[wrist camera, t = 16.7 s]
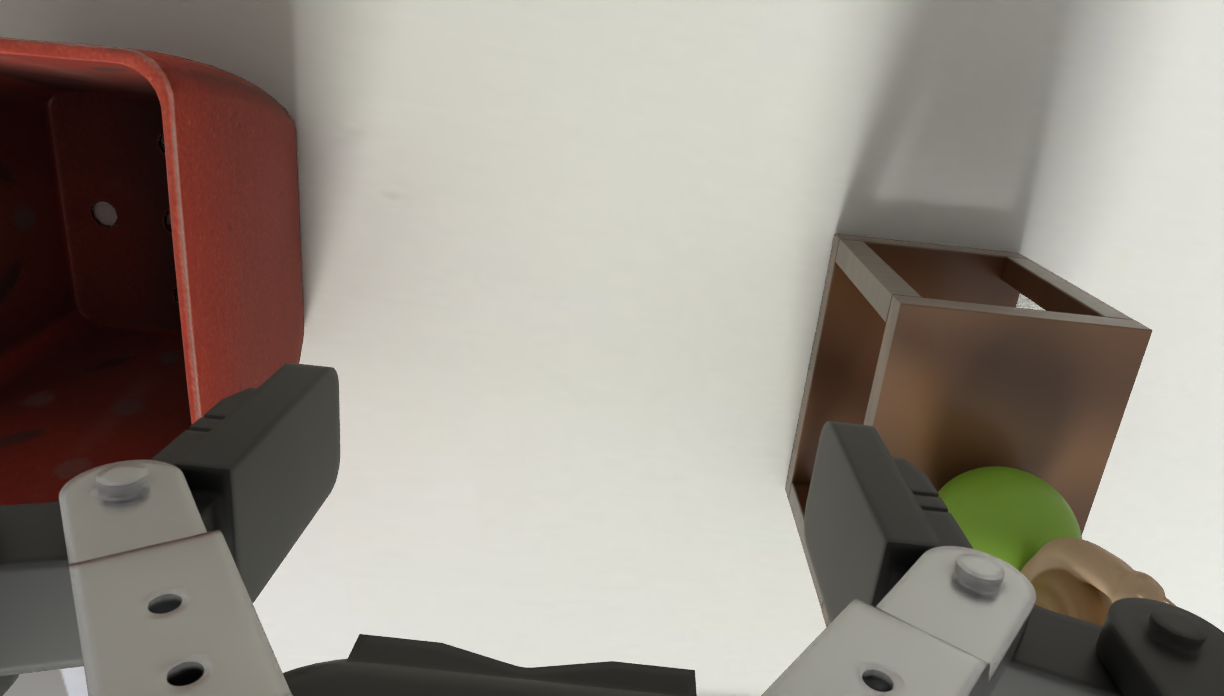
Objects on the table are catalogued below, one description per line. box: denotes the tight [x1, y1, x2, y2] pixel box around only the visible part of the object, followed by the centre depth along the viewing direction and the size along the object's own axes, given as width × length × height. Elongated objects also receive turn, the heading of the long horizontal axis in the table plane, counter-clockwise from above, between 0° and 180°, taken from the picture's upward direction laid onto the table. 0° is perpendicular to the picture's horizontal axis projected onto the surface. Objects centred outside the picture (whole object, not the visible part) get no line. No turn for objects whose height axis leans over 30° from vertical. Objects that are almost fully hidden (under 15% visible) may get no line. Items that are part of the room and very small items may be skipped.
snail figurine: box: [938, 466, 1177, 626], centre depth 28 cm, size 5×6×12 cm
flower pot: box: [0, 37, 304, 506], centre depth 36 cm, size 19×19×17 cm
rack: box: [785, 234, 1152, 627], centre depth 39 cm, size 15×10×14 cm, turn 174°
